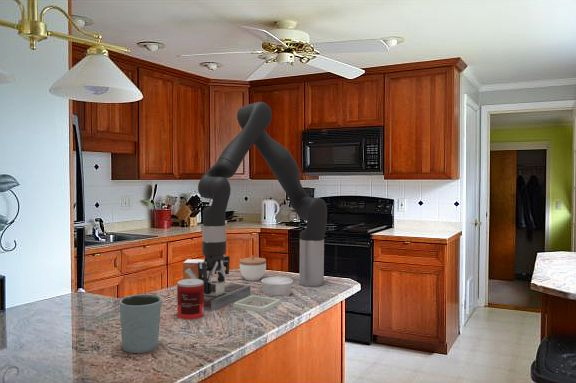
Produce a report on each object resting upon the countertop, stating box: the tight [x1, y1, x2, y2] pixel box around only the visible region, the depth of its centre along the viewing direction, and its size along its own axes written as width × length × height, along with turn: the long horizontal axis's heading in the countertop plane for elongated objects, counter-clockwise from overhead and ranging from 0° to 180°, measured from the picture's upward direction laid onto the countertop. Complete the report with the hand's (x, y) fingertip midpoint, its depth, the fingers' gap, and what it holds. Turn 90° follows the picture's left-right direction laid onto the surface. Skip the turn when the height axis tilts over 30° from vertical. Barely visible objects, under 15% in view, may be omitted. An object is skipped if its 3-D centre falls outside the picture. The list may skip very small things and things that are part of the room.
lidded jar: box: [239, 255, 267, 282], centre depth 196 cm, size 11×11×9 cm
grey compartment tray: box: [204, 283, 251, 312], centre depth 161 cm, size 22×8×4 cm, turn 152°
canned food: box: [176, 279, 205, 320], centre depth 145 cm, size 8×8×11 cm
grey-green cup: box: [118, 293, 163, 354], centre depth 122 cm, size 10×10×12 cm
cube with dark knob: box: [204, 279, 225, 298], centre depth 157 cm, size 5×5×7 cm
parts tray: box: [232, 294, 282, 314], centre depth 156 cm, size 11×11×2 cm
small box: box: [182, 258, 209, 280], centre depth 167 cm, size 8×6×13 cm
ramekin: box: [260, 276, 294, 297], centre depth 173 cm, size 11×11×5 cm
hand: (214, 291), depth 157 cm, fingers open, 6 cm apart
